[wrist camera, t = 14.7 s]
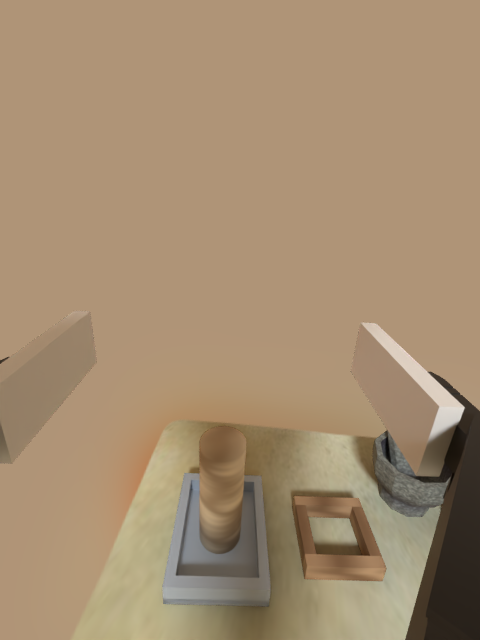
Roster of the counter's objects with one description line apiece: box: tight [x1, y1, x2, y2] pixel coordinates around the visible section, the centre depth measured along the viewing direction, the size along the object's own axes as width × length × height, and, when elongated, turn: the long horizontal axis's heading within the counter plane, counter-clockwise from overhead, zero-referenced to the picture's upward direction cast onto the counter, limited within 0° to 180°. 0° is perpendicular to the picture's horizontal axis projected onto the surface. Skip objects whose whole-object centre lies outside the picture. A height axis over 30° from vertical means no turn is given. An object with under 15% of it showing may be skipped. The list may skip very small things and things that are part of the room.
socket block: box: [292, 496, 387, 581], centre depth 37 cm, size 8×8×2 cm
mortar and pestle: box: [373, 430, 452, 517], centre depth 42 cm, size 11×9×12 cm
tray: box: [163, 473, 271, 606], centre depth 36 cm, size 10×13×2 cm
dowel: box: [199, 426, 247, 554], centre depth 34 cm, size 5×5×13 cm
